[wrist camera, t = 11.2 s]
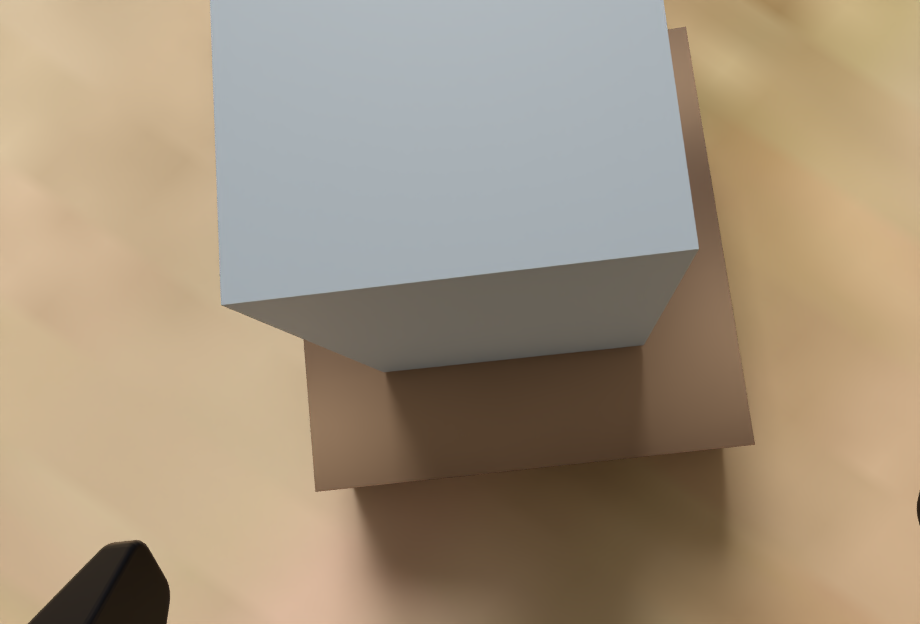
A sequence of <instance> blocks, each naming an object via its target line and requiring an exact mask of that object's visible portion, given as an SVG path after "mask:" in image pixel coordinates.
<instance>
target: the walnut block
mask: <svg viewBox="0 0 920 624" xmlns="http://www.w3.org/2000/svg"><path fill="white" fill-rule="evenodd" d="M668 37H669V44H670V51H671V58H672V65H673V71H674V78H675V85H676V92H677V99H678V106H679V113H680V120H681V127H682V134H683V141H684V148H685V155H686V162H687V169H688V176H689V183H690V190H691V197H692V204H693V211H694V218H695V225H696V231H697V238H698V245H699V250H698V252H697V253H696V255H695V257H694V258H693V260H692V262H691V264H690V265H689V267H688V269H687V271H686V272H685V274H684V276H683V278H682V279H681V281H680V283H679V285H678V286H677V288H676V290H675V292H674V293H673V295H672V297H671V298H670V300H669V302H668V304H667V305H666V307H665V309H664V311H663V312H662V314H661V316H660V318H659V319H658V321H657V323H656V325H655V326H654V328H653V330H652V332H651V333H650V335H649V337H648V339H647V340H646V342H645V344H644V345H641V346H631V347H622V348H612V349H603V350H593V351H583V352H574V353H564V354H555V355H545V356H535V357H526V358H516V359H507V360H497V361H487V362H478V363H468V364H459V365H449V366H439V367H430V368H420V369H411V370H401V371H391V372H382V371H379V370H377V369H375V368H372V367H370V366H367V365H365V364H362V363H360V362H358V361H355V360H353V359H350V358H348V357H346V356H343V355H341V354H338V353H336V352H333V351H331V350H329V349H326V348H324V347H321V346H319V345H316V344H314V343H312V342H309V341H307V340H304V350H305V363H306V376H307V389H308V402H309V414H310V427H311V440H312V453H313V466H314V479H315V491H316V492H318V491H327V490H337V489H346V488H355V487H365V486H374V485H383V484H393V483H402V482H411V481H421V480H430V479H439V478H449V477H458V476H467V475H476V474H486V473H495V472H504V471H514V470H523V469H532V468H542V467H551V466H560V465H570V464H579V463H588V462H597V461H607V460H616V459H625V458H635V457H644V456H653V455H663V454H672V453H681V452H691V451H700V450H709V449H718V448H728V447H737V446H746V445H755V442H754V436H753V430H752V424H751V418H750V412H749V405H748V399H747V393H746V387H745V381H744V375H743V369H742V363H741V357H740V351H739V345H738V339H737V333H736V327H735V321H734V315H733V309H732V303H731V297H730V291H729V285H728V279H727V273H726V267H725V261H724V254H723V248H722V242H721V236H720V230H719V224H718V218H717V212H716V206H715V200H714V194H713V188H712V182H711V176H710V170H709V164H708V158H707V152H706V146H705V140H704V134H703V128H702V122H701V116H700V109H699V103H698V97H697V91H696V85H695V79H694V73H693V67H692V61H691V55H690V49H689V43H688V37H687V31H686V27H681V28H675V29H668Z"/></svg>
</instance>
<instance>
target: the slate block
mask: <svg viewBox="0 0 920 624" xmlns="http://www.w3.org/2000/svg"><path fill="white" fill-rule="evenodd" d="M210 11H211V39H212V66H213V94H214V122H215V149H216V177H217V205H218V232H219V260H220V288H221V305H222V306H225V307H227V308H229V309H232V310H234V311H237V312H239V313H242V314H244V315H246V316H249V317H251V318H254V319H256V320H258V321H261V322H263V323H266V324H268V325H271V326H273V327H275V328H278V329H280V330H283V331H285V332H287V333H290V334H292V335H295V336H297V337H300V338H302V339H304V340H307V341H309V342H312V343H314V344H316V345H319V346H321V347H324V348H326V349H329V350H331V351H333V352H336V353H338V354H341V355H343V356H346V357H348V358H350V359H353V360H355V361H358V362H360V363H362V364H365V365H367V366H370V367H372V368H375V369H377V370H379V371H382V372H391V371H401V370H411V369H420V368H430V367H439V366H449V365H459V364H468V363H478V362H487V361H497V360H507V359H516V358H526V357H535V356H545V355H555V354H564V353H574V352H583V351H593V350H603V349H612V348H622V347H631V346H641V345H644V344H645V342H646V340H647V339H648V337H649V335H650V333H651V332H652V330H653V328H654V326H655V325H656V323H657V321H658V319H659V318H660V316H661V314H662V312H663V311H664V309H665V307H666V305H667V304H668V302H669V300H670V298H671V297H672V295H673V293H674V292H675V290H676V288H677V286H678V285H679V283H680V281H681V279H682V278H683V276H684V274H685V272H686V271H687V269H688V267H689V265H690V264H691V262H692V260H693V258H694V257H695V255H696V253H697V252H698V250H699V245H698V238H697V231H696V225H695V218H694V211H693V204H692V197H691V190H690V183H689V176H688V169H687V162H686V155H685V148H684V141H683V134H682V127H681V120H680V113H679V106H678V99H677V92H676V85H675V78H674V71H673V65H672V58H671V51H670V44H669V37H668V30H667V23H666V16H665V9H664V2H663V0H210Z"/></svg>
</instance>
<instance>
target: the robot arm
mask: <svg viewBox="0 0 920 624" xmlns="http://www.w3.org/2000/svg"><path fill="white" fill-rule="evenodd" d="M917 516H918V521H919V524H920V492H919V497H918V501H917ZM169 604H170V590H169V585H168V582H167V579H166V578H165V576H164V574H163V572H162V571H161V569H160V567H159V566H158V564H157V562H156V560H155V559H154V557H153V555H152V553H151V552H150V550H149V548H148V547H147V545H146V544H145V543H143V542H142V541H139V540H133V541H123V542H114V543H110V544H108V545H106V546H104V547H103V548H102V549H101V550H100V551H99V552H98V553H97V554H96V555H95V556H94V557H93V558H92V559H91V560H90V561H89V562H88V563H87V564H86V565H85V566H84V567H83V568H82V569H81V570H80V571H79V572H78V573H77V574H76V575H75V576H74V577H73V578H72V579H71V580H70V581H69V582H68V583H67V584H66V585H65V586H64V587H63V588H62V589H61V590H60V591H59V592H58V593H57V594H56V595H55V596H54V597H53V599H52V600H51V601H50V602H49V603H48V604H47V605H46V606H45V607H44V608H43V609H42V610H41V611H40V612H39V613H38V614H37V615H36V616H35V617H34V618H33V619H32V620H31V621H30V622H29V623H28V624H167V617H168V610H169Z"/></svg>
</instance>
